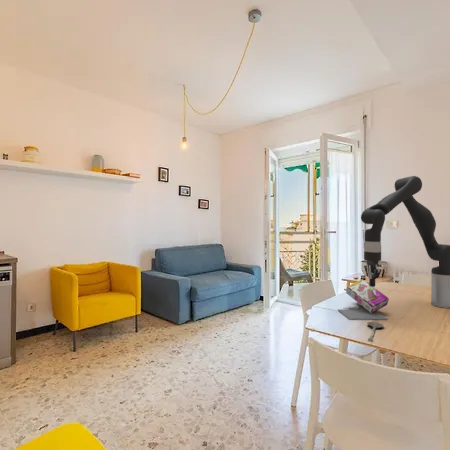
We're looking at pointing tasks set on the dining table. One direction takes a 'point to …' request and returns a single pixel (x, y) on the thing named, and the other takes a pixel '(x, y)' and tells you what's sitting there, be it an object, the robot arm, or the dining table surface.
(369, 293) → the candy bar box
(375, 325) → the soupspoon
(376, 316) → the mat
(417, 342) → the dining table surface
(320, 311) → the dining table surface
